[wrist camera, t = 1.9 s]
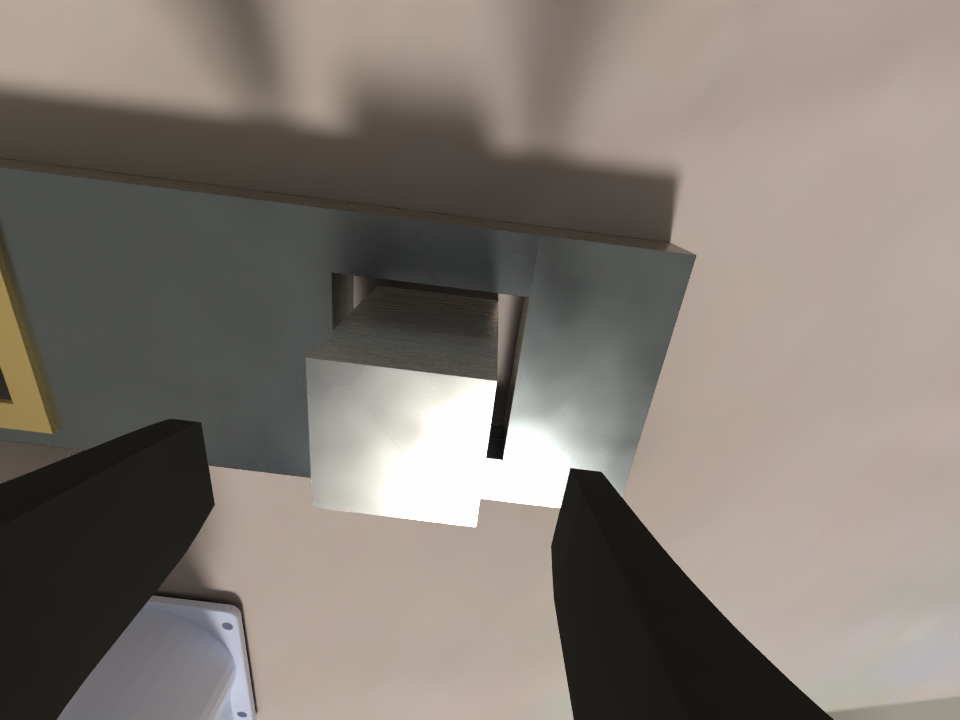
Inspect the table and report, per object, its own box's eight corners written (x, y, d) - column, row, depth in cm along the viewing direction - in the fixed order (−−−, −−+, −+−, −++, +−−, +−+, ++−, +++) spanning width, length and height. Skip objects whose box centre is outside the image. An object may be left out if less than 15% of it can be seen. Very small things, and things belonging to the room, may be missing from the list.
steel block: (483, 405, 16) (475, 527, 11) (375, 392, 16) (312, 507, 11) (498, 300, 15) (497, 381, 9) (377, 285, 15) (305, 357, 9)
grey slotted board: (604, 477, 17) (617, 518, 15) (-173, 383, 17) (-262, 412, 15) (670, 242, 14) (699, 256, 12) (-313, 119, 14) (-454, 111, 12)
